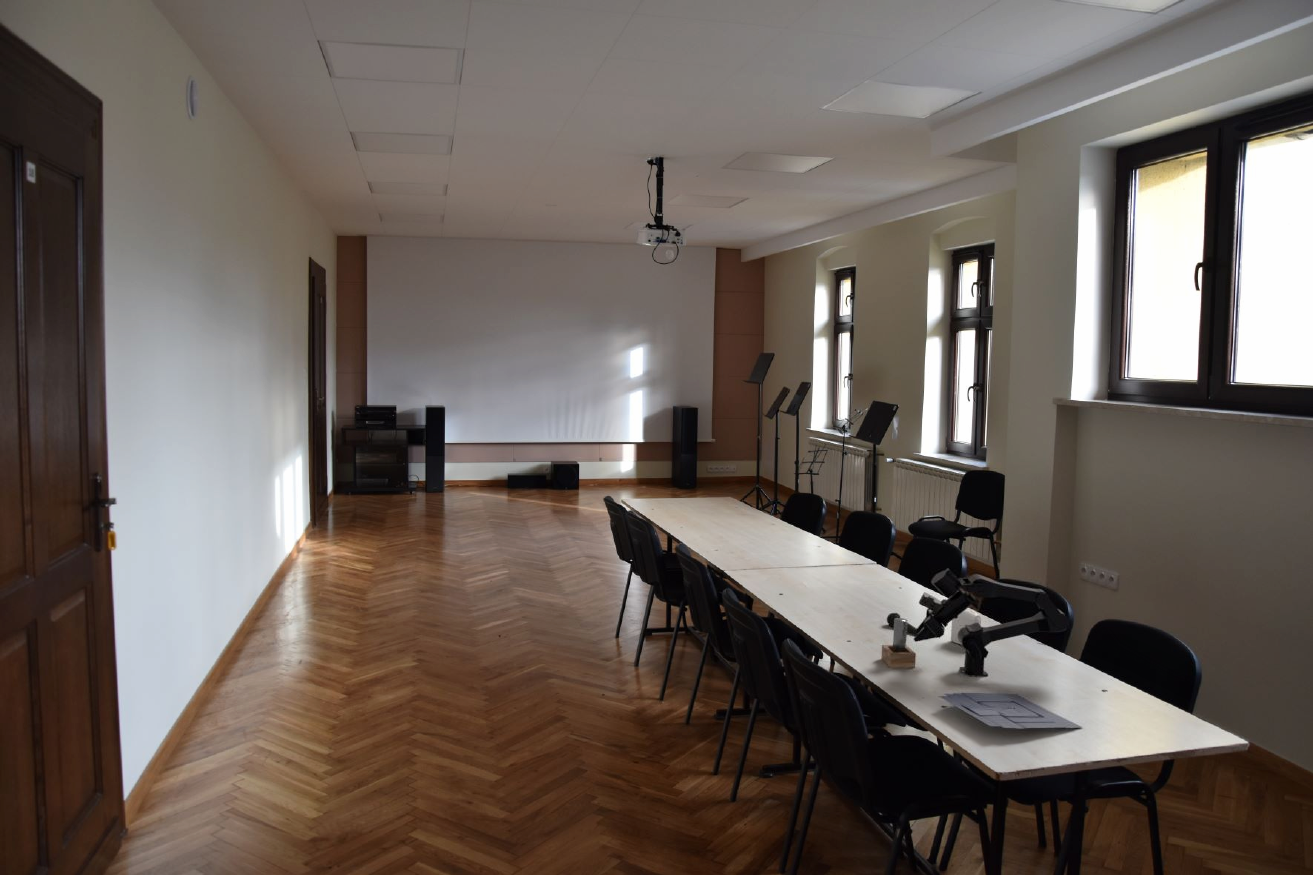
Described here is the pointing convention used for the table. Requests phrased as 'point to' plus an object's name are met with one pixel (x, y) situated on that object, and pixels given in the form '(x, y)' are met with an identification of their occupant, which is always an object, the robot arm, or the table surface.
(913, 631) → the microphone
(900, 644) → the pin
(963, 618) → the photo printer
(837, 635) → the table surface
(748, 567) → the table surface
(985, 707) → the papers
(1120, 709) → the table surface
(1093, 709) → the table surface
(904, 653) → the socket block
